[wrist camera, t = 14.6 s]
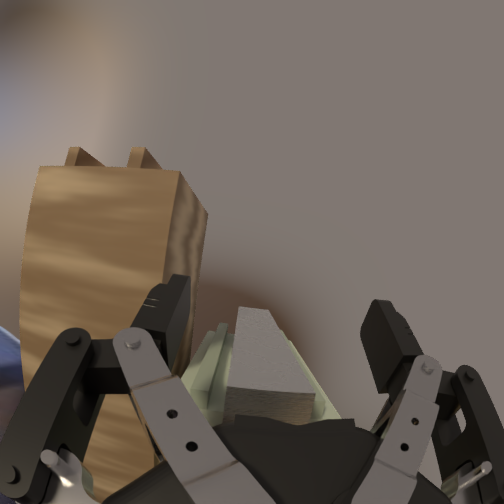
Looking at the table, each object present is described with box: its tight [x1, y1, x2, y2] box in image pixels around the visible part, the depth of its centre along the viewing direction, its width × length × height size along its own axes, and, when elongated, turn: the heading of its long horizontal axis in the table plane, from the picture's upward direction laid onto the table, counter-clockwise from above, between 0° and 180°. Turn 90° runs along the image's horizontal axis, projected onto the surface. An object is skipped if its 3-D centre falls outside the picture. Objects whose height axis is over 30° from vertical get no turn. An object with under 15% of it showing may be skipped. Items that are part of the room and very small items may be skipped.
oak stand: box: [20, 147, 208, 504], centre depth 24 cm, size 15×12×36 cm
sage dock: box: [181, 323, 341, 427], centre depth 24 cm, size 20×10×22 cm, turn 1°
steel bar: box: [222, 307, 316, 425], centre depth 22 cm, size 24×4×4 cm, turn 1°
